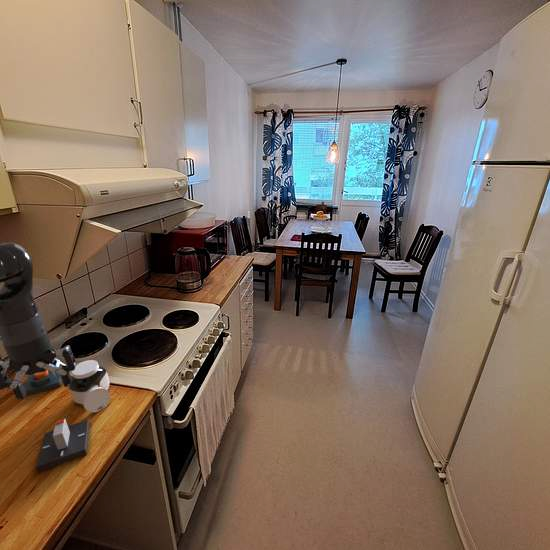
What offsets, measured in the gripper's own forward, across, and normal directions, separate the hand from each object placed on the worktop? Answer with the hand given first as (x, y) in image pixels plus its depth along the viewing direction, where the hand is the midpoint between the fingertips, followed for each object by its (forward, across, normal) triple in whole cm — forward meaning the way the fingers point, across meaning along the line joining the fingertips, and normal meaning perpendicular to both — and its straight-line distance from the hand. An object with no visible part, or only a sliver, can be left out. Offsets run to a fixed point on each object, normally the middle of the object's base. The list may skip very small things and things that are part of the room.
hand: (45, 390), depth 69 cm
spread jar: (+19, -6, -14) cm, 24 cm away
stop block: (+19, +9, -29) cm, 36 cm away
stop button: (+15, +9, -29) cm, 34 cm away
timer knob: (+16, 0, +1) cm, 16 cm away
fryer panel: (+19, 0, +1) cm, 19 cm away
